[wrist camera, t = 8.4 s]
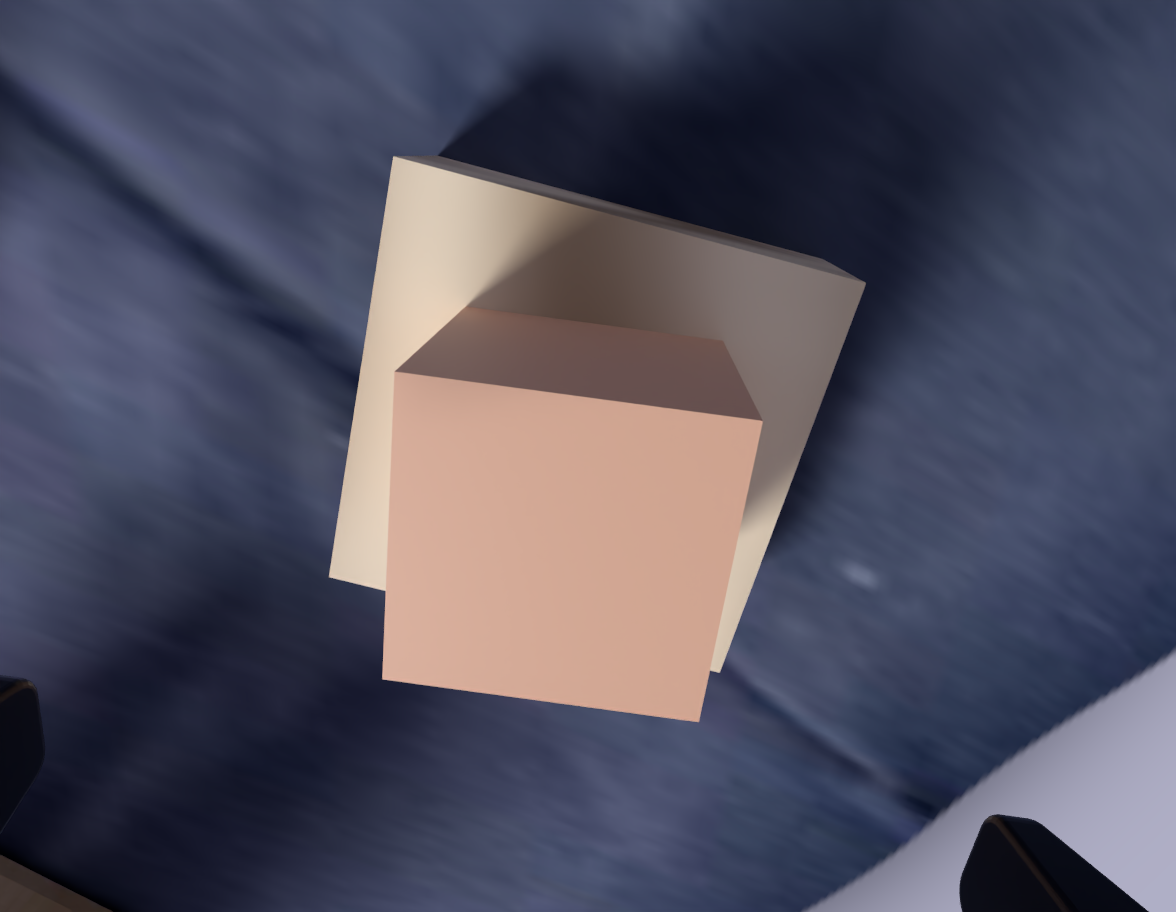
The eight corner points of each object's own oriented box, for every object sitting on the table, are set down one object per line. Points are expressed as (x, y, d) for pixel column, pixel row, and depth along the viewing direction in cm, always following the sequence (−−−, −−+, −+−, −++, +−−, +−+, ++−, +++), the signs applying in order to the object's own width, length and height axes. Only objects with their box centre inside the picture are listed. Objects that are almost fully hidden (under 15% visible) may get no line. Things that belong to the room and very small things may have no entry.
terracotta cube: (722, 340, 15) (763, 421, 11) (680, 568, 17) (698, 722, 13) (466, 306, 15) (394, 371, 11) (449, 537, 17) (381, 679, 13)
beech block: (818, 256, 19) (866, 283, 15) (704, 583, 22) (719, 672, 18) (441, 155, 18) (393, 156, 15) (381, 503, 21) (328, 577, 18)
